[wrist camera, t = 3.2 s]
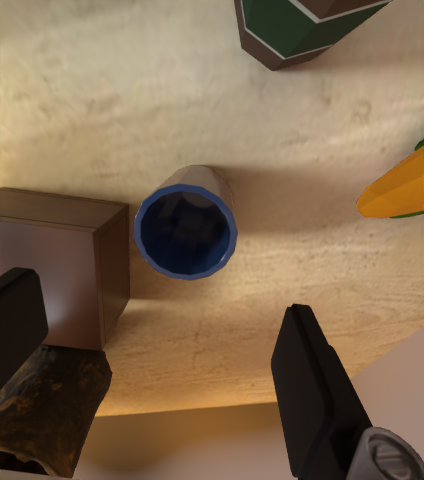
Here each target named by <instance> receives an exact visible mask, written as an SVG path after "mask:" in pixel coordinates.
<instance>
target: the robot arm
mask: <svg viewBox="0 0 424 480" xmlns="http://www.w3.org/2000/svg"><path fill="white" fill-rule="evenodd" d="M48 331H49V328H48V322H47V316H46V311H45V305H44V299H43V294H42V288H41V282H40V277H39V275H38V274H37V273H36V272H35V270H34V269H30V268H22V267H14V268H12V269H10V270H9V271H7V272H5V273H4V274H2V275H1V276H0V390H1V389H2V388H3V387H4V386H5V385H6V383H7V382H8V381H9V380H10V379H11V378H12V376H13V375H14V374H15V373H16V372H17V371H18V370H19V368H20V367H21V366H22V365H23V364H24V363H25V361H26V360H27V359H28V358H29V357H30V356H31V355H32V353H33V352H34V351H35V350H36V349H37V348H38V347H39V345H40V344H41V343H42V342H43V341H44V340H45V338H46V337H47V335H48ZM271 370H272V375H273V380H274V385H275V391H276V396H277V401H278V406H279V411H280V417H281V421H282V426H283V432H284V437H285V442H286V448H287V453H288V458H289V463H290V469H291V472H292V475H293V476H294V477H298V480H424V462H423V460H422V458H421V457H420V456H419V454H418V453H417V452H416V451H415V450H414V449H413V448H412V447H411V445H409V444H408V443H407V442H406V441H405V440H403V439H402V438H401V437H400V436H398V435H396V434H395V433H393V432H391V431H390V430H387V429H384V428H380V427H373V425H372V424H371V421H370V420H369V417H368V415H367V413H366V411H365V410H364V407H363V405H362V403H361V401H360V399H359V398H358V395H357V393H356V391H355V390H354V388H353V385H352V383H351V381H350V379H349V377H348V375H347V373H346V371H345V369H344V367H343V365H342V363H341V361H340V359H339V357H338V355H337V353H336V351H335V350H334V348H333V347H332V346H331V345H329V344H328V342H327V340H326V338H325V336H324V334H323V332H322V330H321V328H320V326H319V324H318V321H317V319H316V317H315V315H314V313H313V311H312V309H311V307H310V306H308V305H301V304H293V305H292V306H291V307H287V309H286V312H285V315H284V318H283V322H282V325H281V328H280V332H279V335H278V339H277V342H276V345H275V349H274V352H273V355H272V359H271ZM0 480H78V479H71V478H63V477H55V476H47V475H40V474H32V473H24V472H16V471H9V470H1V469H0Z"/></svg>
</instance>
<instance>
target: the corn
mask: <svg viewBox="0 0 424 480" xmlns="http://www.w3.org/2000/svg"><path fill="white" fill-rule="evenodd" d="M357 211H358V212H360V213H361V214H362V215H363V216H365V217H371V218H387V217H389V218H405V217H411V216H416V215H421V214H424V140H422V141H421V142H419V143H418V145H417V146H416V147H415V152H414V153H413V154H412V155H410V156H409V157H408V158H406V159H405V160H404V161H402V162H401V163H400V164H398V165H397V166H396V167H394V168H393V169H392V170H390V171H389V172H388V173H386V174H385V175H384V176H382V177H381V178H379V179H378V180H377V181H375V182H374V183H373V184H371V185H370V186H369V187H367V188H366V190H365V191H364V192H363V194H362V195H361V197H360V198H359V199H358V201H357Z"/></svg>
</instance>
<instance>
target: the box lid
mask: <svg viewBox="0 0 424 480" xmlns="http://www.w3.org/2000/svg"><path fill="white" fill-rule="evenodd" d="M14 267H22V268H30V269H34V270H35V272H36V273H37V274H38V275H39V277H40V282H41V288H42V294H43V299H44V305H45V311H46V316H47V322H48V328H49V331H48V335H47V337H46V338H45V340H44V341H43V342H42V343H41V344H47V345H56V346H64V347H73V348H81V349H90V350H99V351H102V349H103V347H104V346H105V333H104V318H103V303H102V288H101V273H100V258H99V242H98V229H95V228H87V227H79V226H71V225H63V224H55V223H47V222H39V221H31V220H24V219H16V218H8V217H0V276H1V275H2V274H4V273H5V272H7V271H9V270H10V269H12V268H14Z"/></svg>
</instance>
